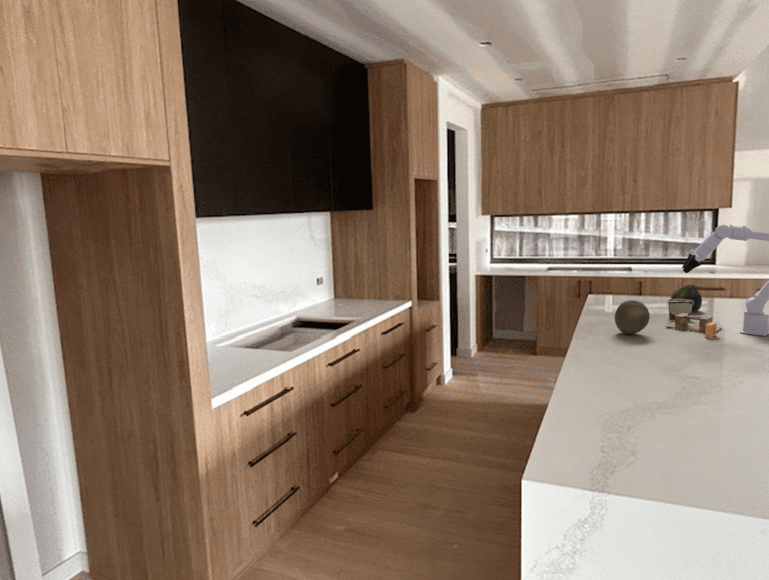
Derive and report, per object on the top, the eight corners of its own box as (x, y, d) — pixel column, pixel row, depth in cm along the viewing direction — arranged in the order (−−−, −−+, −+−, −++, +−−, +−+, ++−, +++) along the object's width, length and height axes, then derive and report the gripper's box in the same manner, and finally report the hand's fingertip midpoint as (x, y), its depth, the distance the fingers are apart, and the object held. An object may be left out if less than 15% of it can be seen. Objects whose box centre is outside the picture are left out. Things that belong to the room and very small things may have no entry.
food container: (687, 318, 279) (688, 298, 277) (693, 320, 273) (694, 300, 271) (661, 318, 280) (663, 298, 279) (666, 320, 274) (668, 300, 272)
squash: (660, 299, 303) (678, 280, 293) (678, 298, 310) (697, 279, 299) (676, 319, 295) (695, 301, 285) (695, 317, 301) (714, 300, 291)
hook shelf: (721, 329, 253) (722, 316, 252) (713, 334, 244) (714, 321, 243) (674, 323, 267) (674, 311, 266) (665, 327, 258) (665, 315, 257)
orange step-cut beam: (715, 335, 242) (716, 322, 241) (711, 338, 237) (712, 325, 236) (709, 334, 243) (710, 322, 242) (704, 337, 238) (705, 324, 237)
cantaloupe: (612, 336, 243) (613, 302, 241) (615, 329, 256) (617, 297, 254) (647, 339, 237) (649, 304, 235) (649, 332, 249) (651, 299, 247)
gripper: (698, 239, 256) (676, 262, 262) (700, 244, 244) (677, 267, 249) (711, 249, 255) (689, 271, 261) (714, 254, 242) (690, 277, 248)
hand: (684, 270), depth 255 cm, fingers open, 7 cm apart
